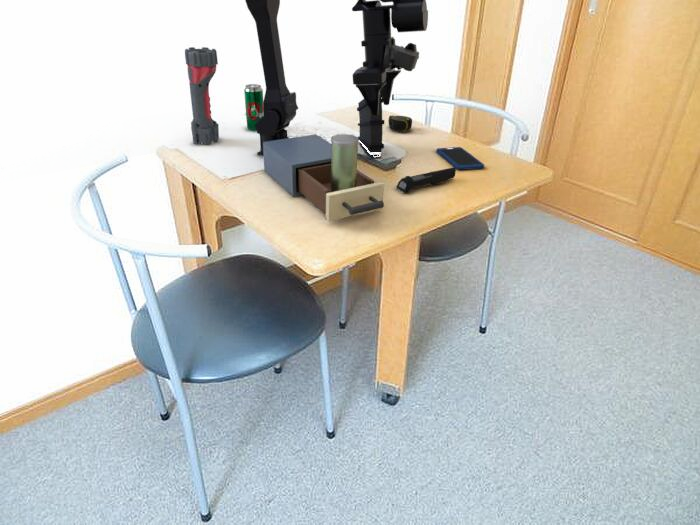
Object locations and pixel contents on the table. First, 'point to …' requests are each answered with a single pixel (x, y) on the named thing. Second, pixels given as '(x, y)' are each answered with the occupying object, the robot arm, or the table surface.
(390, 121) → the tape measure
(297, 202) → the table surface
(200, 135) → the flashlight
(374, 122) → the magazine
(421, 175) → the electric trimmer
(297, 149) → the cabinet
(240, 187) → the table surface
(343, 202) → the drawer
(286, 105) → the robot arm
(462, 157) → the cell phone
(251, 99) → the soda can
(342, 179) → the tea tin
